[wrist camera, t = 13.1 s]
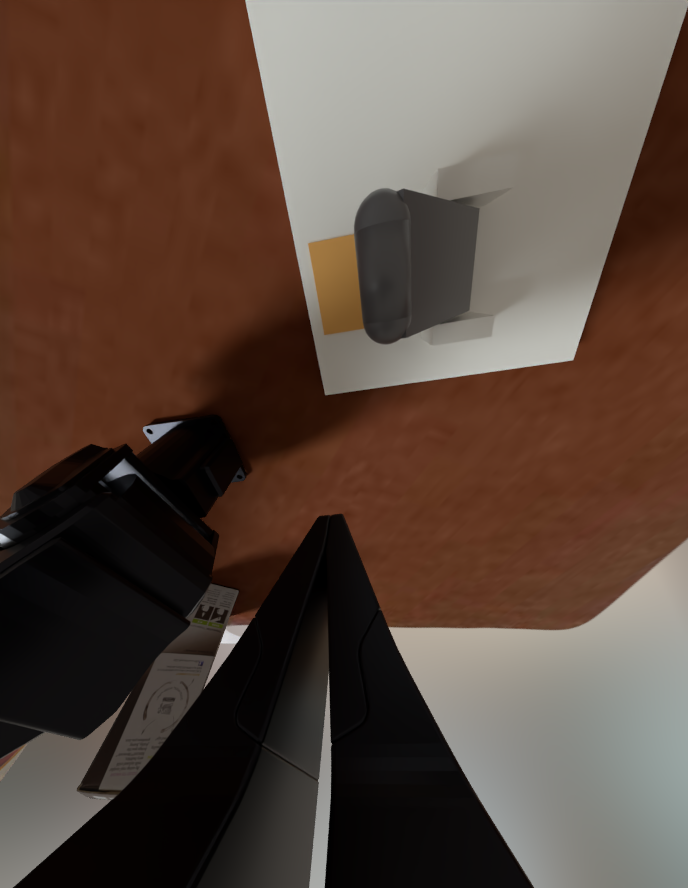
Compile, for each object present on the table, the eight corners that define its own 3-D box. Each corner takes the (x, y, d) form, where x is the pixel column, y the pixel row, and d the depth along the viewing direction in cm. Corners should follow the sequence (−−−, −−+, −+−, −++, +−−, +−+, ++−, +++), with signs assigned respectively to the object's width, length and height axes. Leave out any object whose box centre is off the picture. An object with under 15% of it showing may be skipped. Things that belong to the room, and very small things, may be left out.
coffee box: (191, 577, 32) (72, 792, 18) (240, 589, 33) (164, 798, 19) (184, 609, 36) (85, 801, 23) (228, 618, 38) (159, 805, 24)
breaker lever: (442, 315, 14) (356, 349, 10) (447, 216, 12) (338, 197, 7) (475, 312, 13) (395, 350, 9) (487, 202, 11) (388, 171, 6)
